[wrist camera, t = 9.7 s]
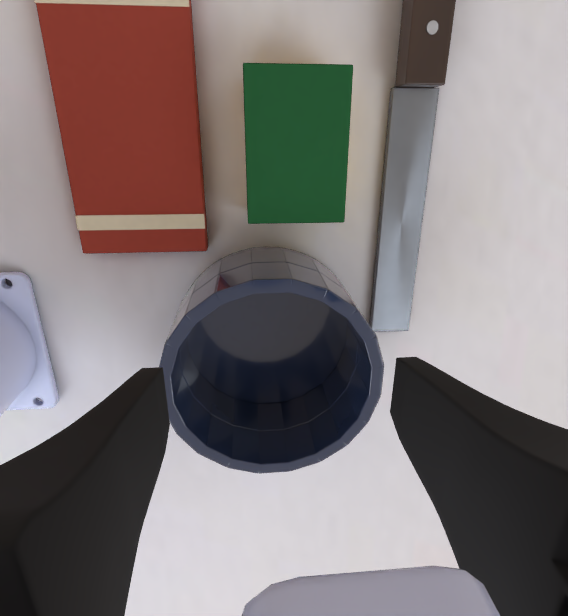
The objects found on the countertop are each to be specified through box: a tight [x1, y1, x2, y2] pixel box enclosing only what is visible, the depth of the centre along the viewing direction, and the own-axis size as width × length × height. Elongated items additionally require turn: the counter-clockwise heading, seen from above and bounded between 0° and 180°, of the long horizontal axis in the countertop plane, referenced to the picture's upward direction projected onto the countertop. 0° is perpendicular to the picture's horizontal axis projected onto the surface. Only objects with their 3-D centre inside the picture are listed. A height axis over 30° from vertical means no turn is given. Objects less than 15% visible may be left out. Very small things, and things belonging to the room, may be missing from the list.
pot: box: [159, 247, 384, 473], centre depth 21 cm, size 10×10×6 cm
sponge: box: [243, 63, 353, 224], centre depth 18 cm, size 4×6×3 cm
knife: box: [370, 0, 456, 332], centre depth 20 cm, size 2×20×2 cm, turn 0°
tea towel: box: [34, 0, 208, 253], centre depth 18 cm, size 6×12×1 cm, turn 0°
